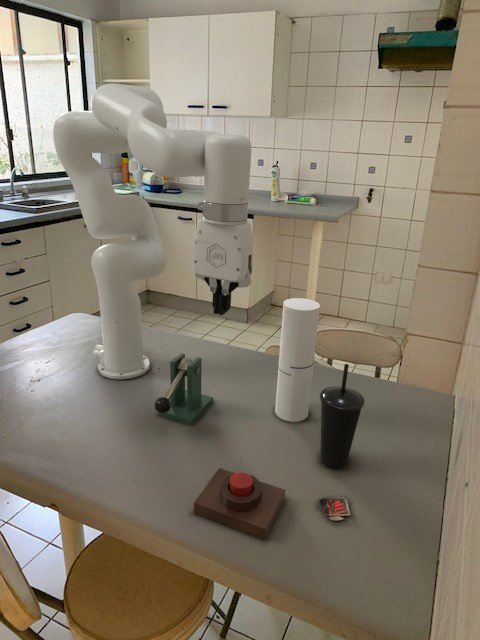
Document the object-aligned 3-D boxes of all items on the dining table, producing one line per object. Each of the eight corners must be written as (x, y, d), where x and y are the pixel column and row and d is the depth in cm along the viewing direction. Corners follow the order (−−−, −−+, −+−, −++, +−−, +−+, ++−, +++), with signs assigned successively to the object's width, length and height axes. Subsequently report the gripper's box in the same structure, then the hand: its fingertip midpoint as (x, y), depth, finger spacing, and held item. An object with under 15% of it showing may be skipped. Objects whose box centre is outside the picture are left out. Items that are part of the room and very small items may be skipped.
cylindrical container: (306, 423, 96) (319, 312, 87) (273, 418, 98) (281, 308, 88) (309, 405, 103) (320, 300, 94) (277, 401, 104) (285, 296, 95)
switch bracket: (191, 425, 95) (190, 374, 90) (157, 415, 97) (156, 365, 93) (213, 401, 103) (214, 354, 99) (182, 393, 106) (181, 346, 102)
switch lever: (167, 418, 90) (163, 409, 88) (153, 414, 91) (149, 405, 89) (197, 369, 98) (194, 359, 96) (184, 365, 99) (180, 355, 97)
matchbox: (315, 501, 76) (315, 498, 76) (343, 496, 77) (344, 493, 77) (327, 522, 72) (328, 520, 72) (357, 517, 73) (357, 514, 73)
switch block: (193, 513, 73) (193, 493, 71) (219, 477, 80) (219, 459, 79) (265, 540, 68) (266, 519, 67) (284, 500, 76) (286, 480, 75)
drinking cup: (327, 479, 81) (340, 379, 74) (304, 453, 88) (315, 358, 80) (363, 468, 84) (379, 371, 77) (338, 444, 90) (351, 352, 83)
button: (225, 492, 72) (226, 483, 71) (235, 478, 75) (235, 469, 75) (247, 500, 71) (247, 491, 70) (255, 485, 74) (256, 476, 73)
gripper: (176, 209, 78) (175, 310, 85) (257, 221, 73) (250, 328, 80) (198, 204, 85) (196, 298, 92) (274, 214, 79) (266, 314, 86)
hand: (221, 312), depth 86 cm, fingers closed
